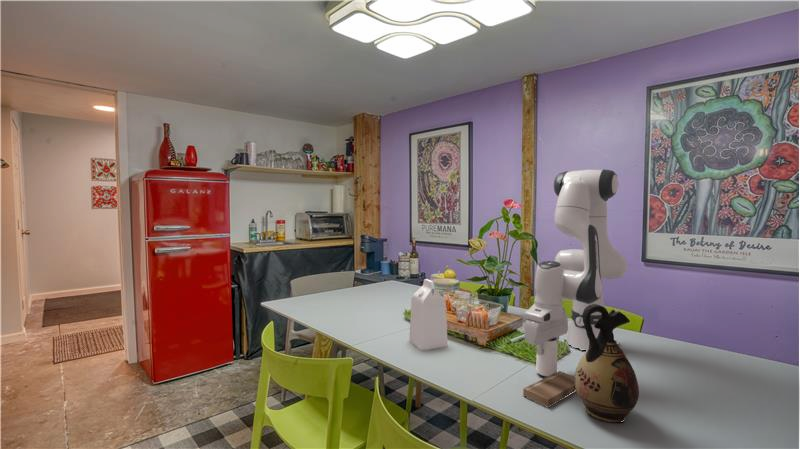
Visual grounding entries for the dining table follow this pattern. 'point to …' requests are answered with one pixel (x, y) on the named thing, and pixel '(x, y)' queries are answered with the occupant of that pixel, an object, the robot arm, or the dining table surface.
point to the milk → (428, 318)
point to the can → (547, 358)
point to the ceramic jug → (605, 369)
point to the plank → (551, 388)
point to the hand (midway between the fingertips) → (546, 351)
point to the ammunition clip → (475, 326)
